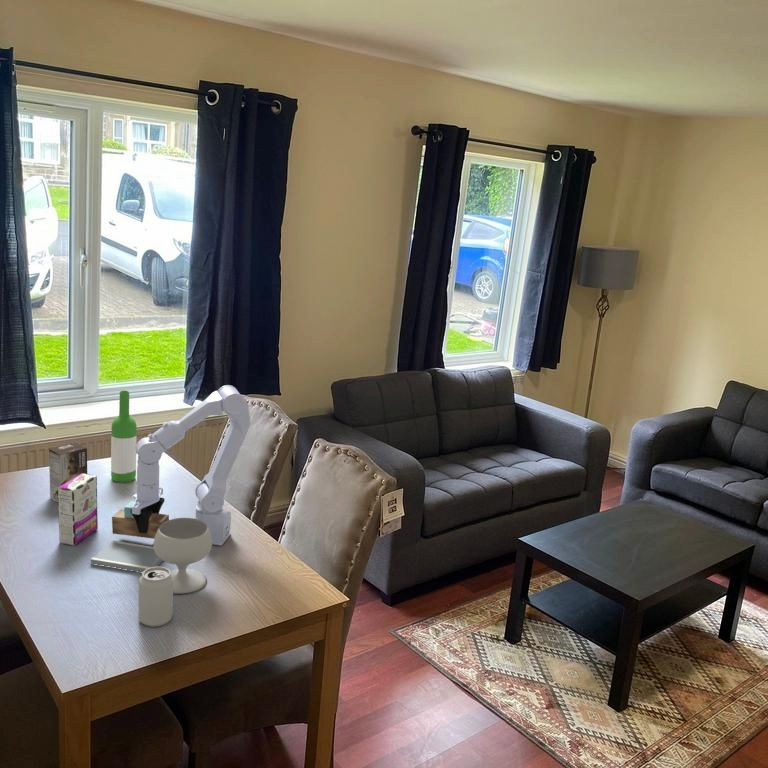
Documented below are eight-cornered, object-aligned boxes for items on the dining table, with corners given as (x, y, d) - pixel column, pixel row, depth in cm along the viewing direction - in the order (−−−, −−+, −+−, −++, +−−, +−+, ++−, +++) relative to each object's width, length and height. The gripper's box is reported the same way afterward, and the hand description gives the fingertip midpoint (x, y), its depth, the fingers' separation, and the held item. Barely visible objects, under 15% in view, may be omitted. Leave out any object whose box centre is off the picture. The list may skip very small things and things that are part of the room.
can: (142, 609, 172) (143, 563, 169) (175, 611, 172) (176, 565, 169) (134, 628, 164) (135, 580, 161) (168, 629, 165) (170, 581, 162)
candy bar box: (82, 526, 208) (81, 472, 204) (98, 529, 207) (98, 475, 203) (57, 543, 198) (56, 486, 194) (74, 546, 197) (74, 489, 193)
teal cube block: (145, 512, 202) (144, 502, 202) (138, 518, 199) (138, 508, 198) (131, 511, 203) (131, 501, 202) (124, 517, 199) (124, 507, 198)
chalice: (211, 568, 193) (214, 516, 189) (208, 597, 179) (211, 541, 176) (156, 568, 190) (157, 515, 186) (149, 597, 177) (150, 540, 173)
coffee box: (76, 490, 231) (76, 441, 227) (88, 496, 227) (88, 447, 223) (48, 498, 224) (48, 448, 220) (60, 504, 220) (60, 454, 216)
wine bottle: (140, 480, 243) (141, 393, 236) (118, 485, 238) (118, 396, 230) (128, 472, 248) (129, 387, 241) (106, 477, 243) (107, 390, 235)
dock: (168, 554, 197) (168, 549, 197) (149, 574, 187) (149, 568, 186) (112, 545, 199) (112, 540, 199) (90, 564, 189) (90, 558, 188)
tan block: (169, 531, 203) (168, 514, 202) (161, 539, 198) (160, 522, 197) (121, 525, 205) (121, 509, 204) (112, 533, 200) (111, 516, 199)
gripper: (146, 470, 205) (145, 515, 209) (120, 489, 191) (120, 537, 195) (170, 473, 204) (169, 518, 208) (146, 493, 190) (146, 541, 194)
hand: (147, 528), depth 201 cm, fingers closed on tan block, 5 cm apart
